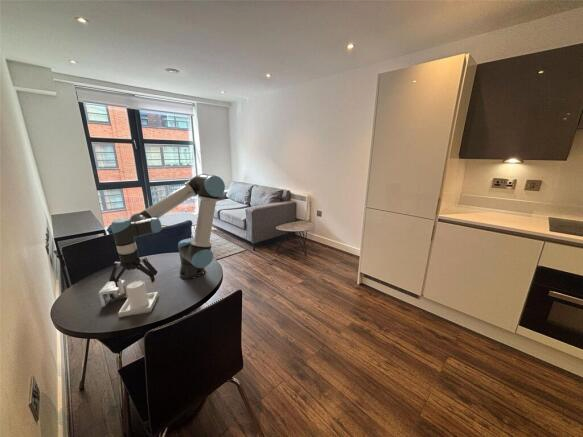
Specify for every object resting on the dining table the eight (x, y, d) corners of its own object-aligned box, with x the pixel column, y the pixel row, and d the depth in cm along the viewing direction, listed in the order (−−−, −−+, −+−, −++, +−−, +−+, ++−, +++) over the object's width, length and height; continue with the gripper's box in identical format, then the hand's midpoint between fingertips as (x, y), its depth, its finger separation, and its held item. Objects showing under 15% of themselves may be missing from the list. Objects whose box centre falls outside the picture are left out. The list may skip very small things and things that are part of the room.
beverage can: (152, 299, 122) (148, 279, 119) (143, 309, 115) (138, 288, 111) (136, 300, 122) (132, 280, 119) (126, 310, 114) (121, 289, 111)
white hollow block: (131, 292, 130) (127, 279, 127) (123, 303, 120) (120, 289, 118) (111, 295, 127) (107, 282, 125) (102, 306, 118) (98, 292, 116)
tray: (158, 296, 126) (157, 291, 126) (151, 312, 114) (150, 307, 113) (130, 300, 123) (129, 296, 122) (119, 317, 111) (118, 312, 110)
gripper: (159, 245, 116) (166, 281, 123) (101, 251, 110) (112, 289, 117) (154, 251, 110) (163, 289, 116) (92, 258, 103) (105, 298, 110)
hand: (137, 289), depth 116 cm, fingers open, 13 cm apart
